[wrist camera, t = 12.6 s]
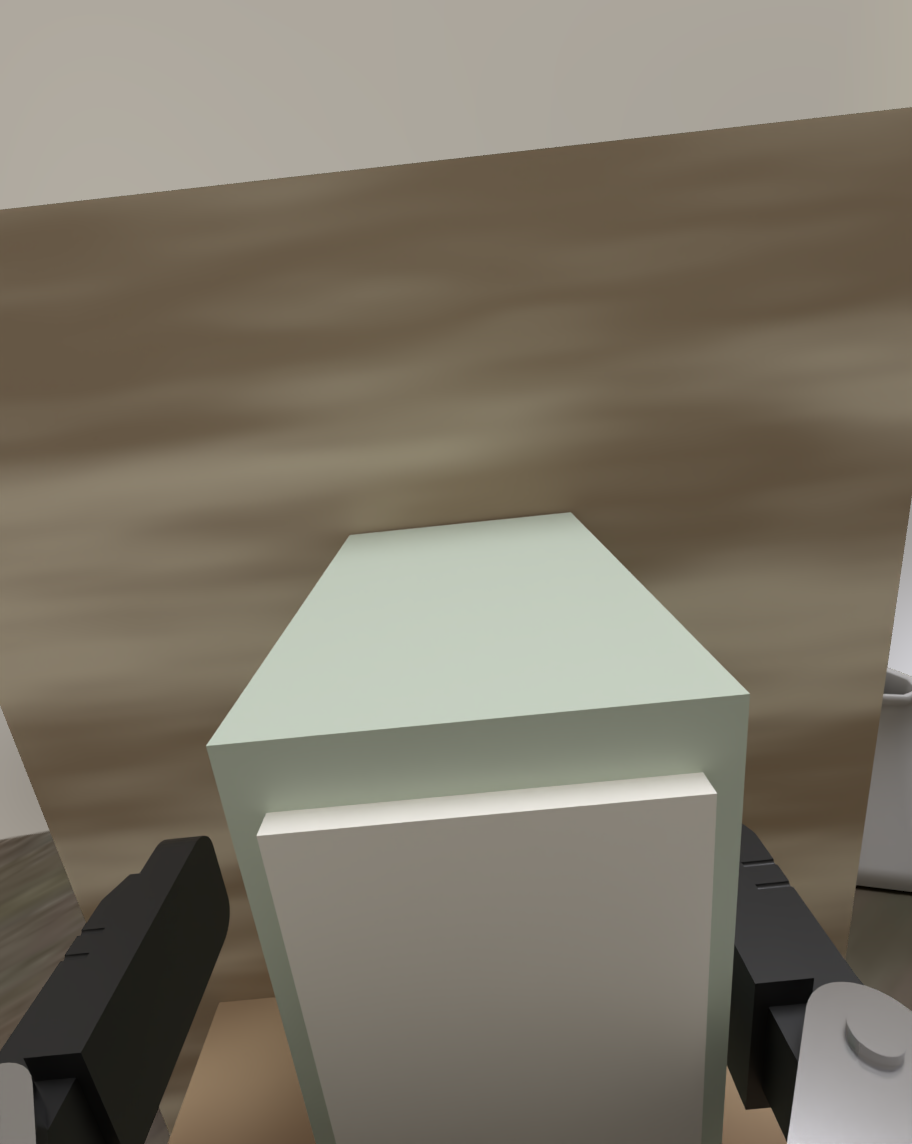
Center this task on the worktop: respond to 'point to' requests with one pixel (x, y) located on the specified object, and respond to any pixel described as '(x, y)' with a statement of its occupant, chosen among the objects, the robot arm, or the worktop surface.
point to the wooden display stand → (450, 472)
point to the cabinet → (493, 843)
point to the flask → (890, 793)
